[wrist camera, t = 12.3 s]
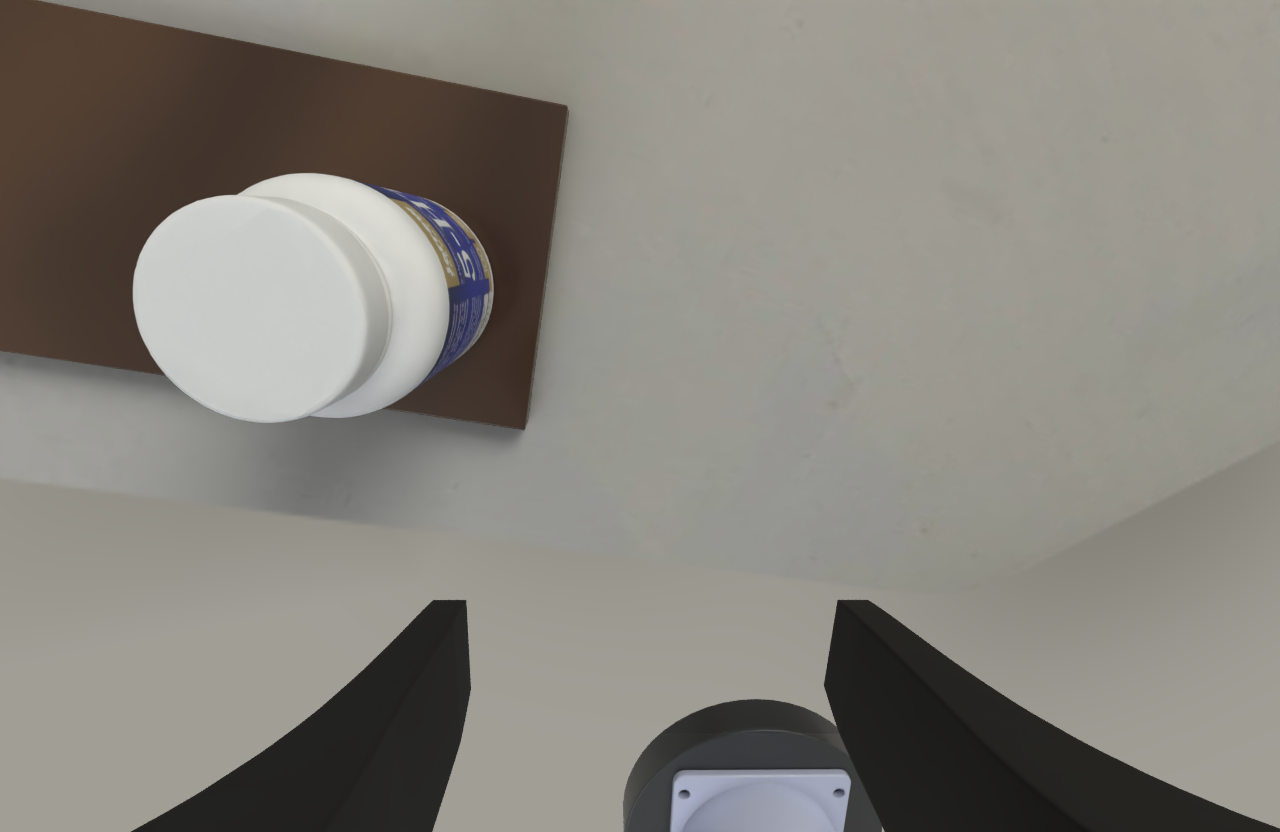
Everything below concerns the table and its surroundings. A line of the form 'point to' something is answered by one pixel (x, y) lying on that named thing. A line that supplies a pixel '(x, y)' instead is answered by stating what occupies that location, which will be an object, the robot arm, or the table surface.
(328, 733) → the robot arm
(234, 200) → the pill bottle
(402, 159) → the corner board
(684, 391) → the table surface
